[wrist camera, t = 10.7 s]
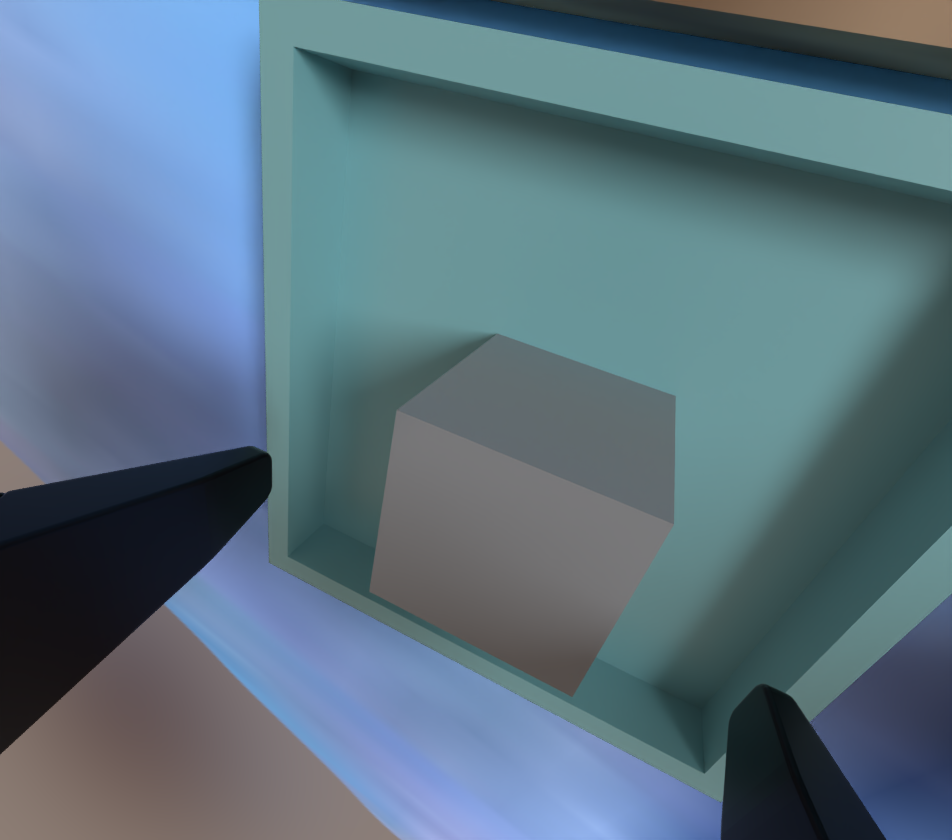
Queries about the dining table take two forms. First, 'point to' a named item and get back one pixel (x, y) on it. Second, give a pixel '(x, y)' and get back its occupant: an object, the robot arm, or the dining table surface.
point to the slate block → (526, 505)
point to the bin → (621, 336)
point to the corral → (797, 26)
